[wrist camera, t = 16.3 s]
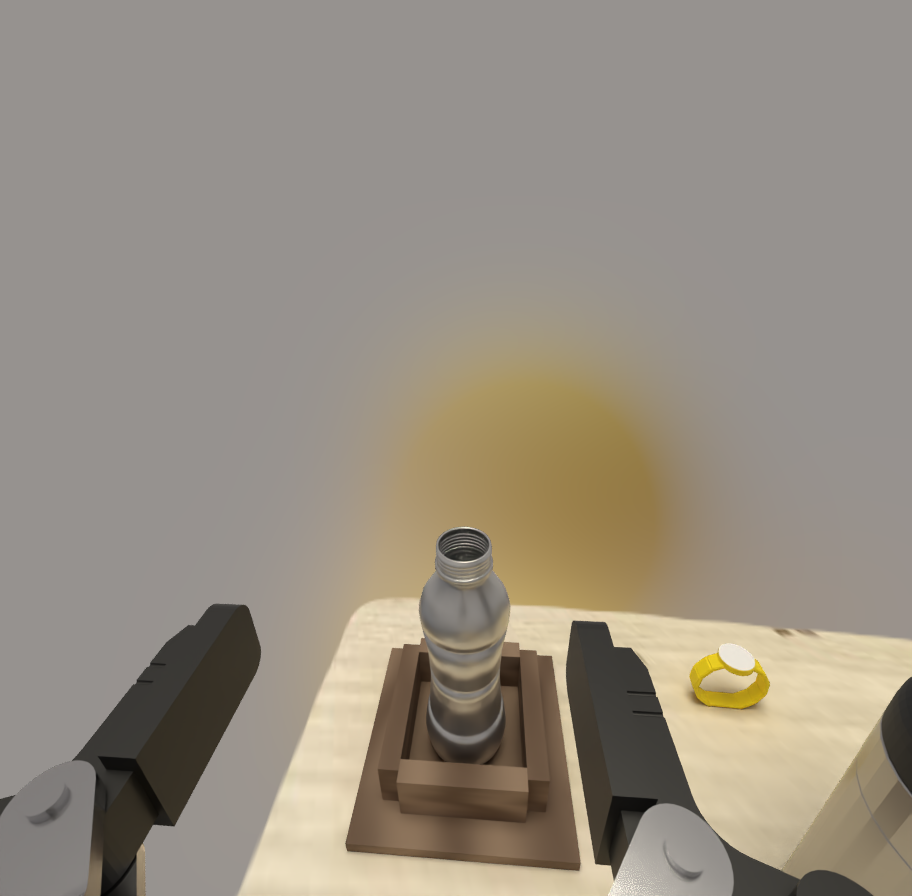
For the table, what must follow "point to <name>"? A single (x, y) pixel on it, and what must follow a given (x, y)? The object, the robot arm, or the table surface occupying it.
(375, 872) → the table surface
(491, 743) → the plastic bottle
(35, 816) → the robot arm
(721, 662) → the watch
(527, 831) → the bottle rack
